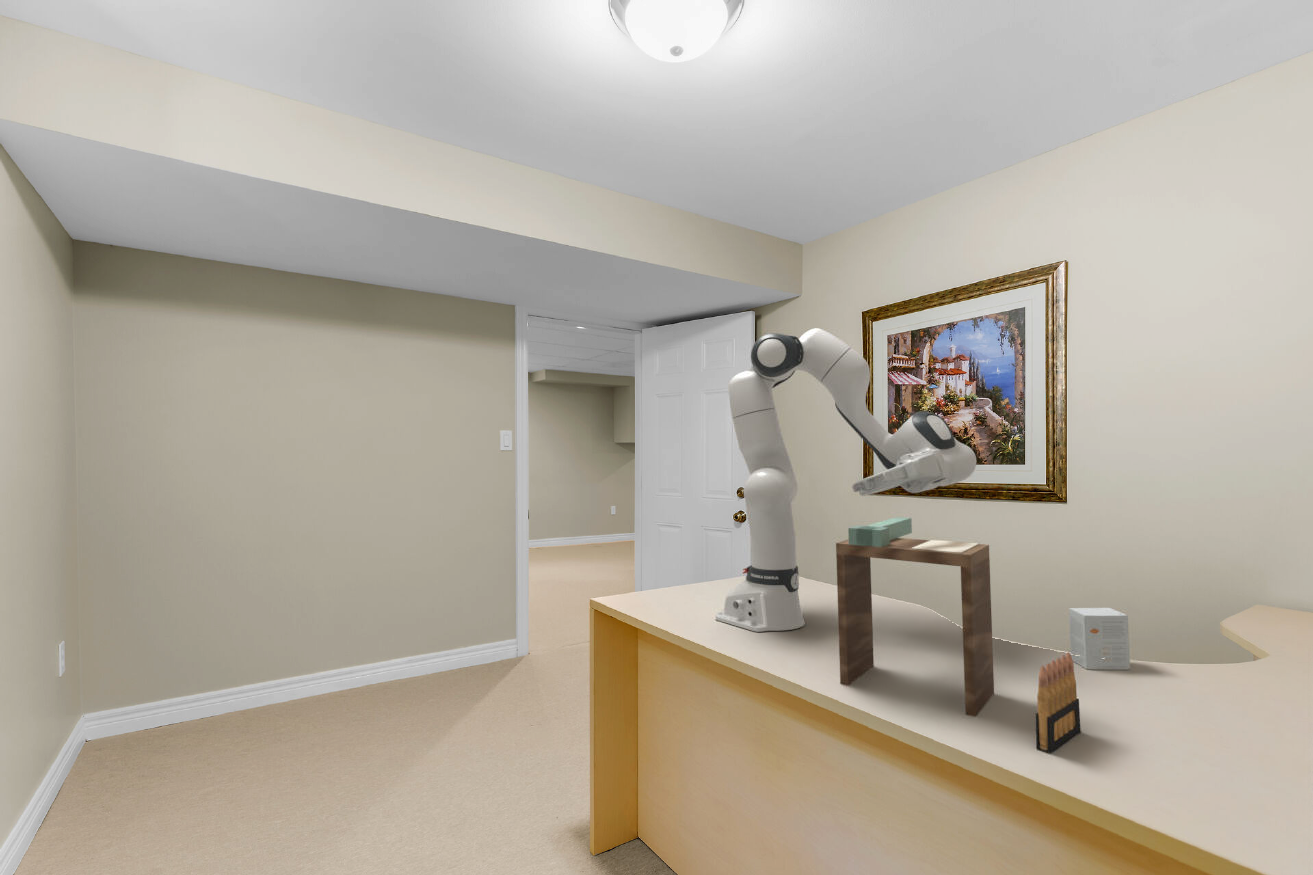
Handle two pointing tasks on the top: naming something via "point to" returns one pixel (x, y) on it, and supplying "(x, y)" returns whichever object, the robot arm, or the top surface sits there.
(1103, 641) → the small box
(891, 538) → the sage lever
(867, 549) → the walnut shelf
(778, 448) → the robot arm
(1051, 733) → the ammunition clip
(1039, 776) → the top surface
